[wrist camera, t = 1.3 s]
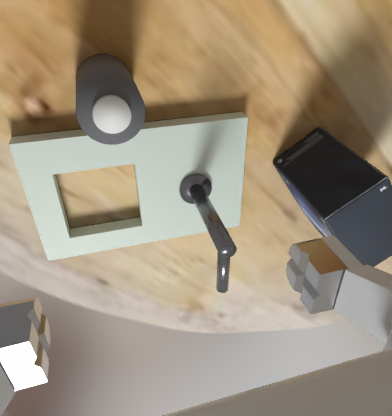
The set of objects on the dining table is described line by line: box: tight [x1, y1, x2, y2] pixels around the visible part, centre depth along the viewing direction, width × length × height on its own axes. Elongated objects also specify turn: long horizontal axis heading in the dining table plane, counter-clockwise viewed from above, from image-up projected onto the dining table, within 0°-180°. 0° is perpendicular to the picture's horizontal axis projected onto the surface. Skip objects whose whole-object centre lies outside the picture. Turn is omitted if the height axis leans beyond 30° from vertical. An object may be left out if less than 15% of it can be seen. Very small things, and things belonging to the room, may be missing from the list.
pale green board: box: [9, 112, 248, 261], centre depth 34 cm, size 12×20×2 cm, turn 90°
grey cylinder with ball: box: [76, 54, 146, 145], centre depth 26 cm, size 4×4×8 cm
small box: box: [273, 127, 392, 267], centre depth 36 cm, size 11×6×10 cm, turn 35°
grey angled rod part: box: [179, 173, 237, 293], centre depth 32 cm, size 7×3×10 cm, turn 1°
